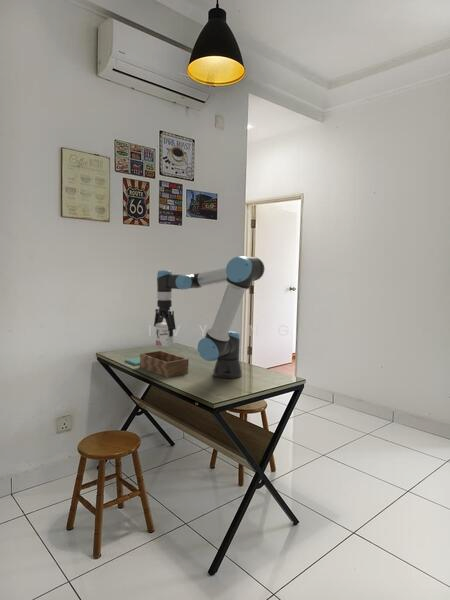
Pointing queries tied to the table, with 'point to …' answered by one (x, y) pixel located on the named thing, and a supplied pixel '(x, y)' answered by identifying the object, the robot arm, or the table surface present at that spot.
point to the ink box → (162, 335)
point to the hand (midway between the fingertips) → (164, 341)
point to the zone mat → (133, 361)
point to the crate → (164, 363)
